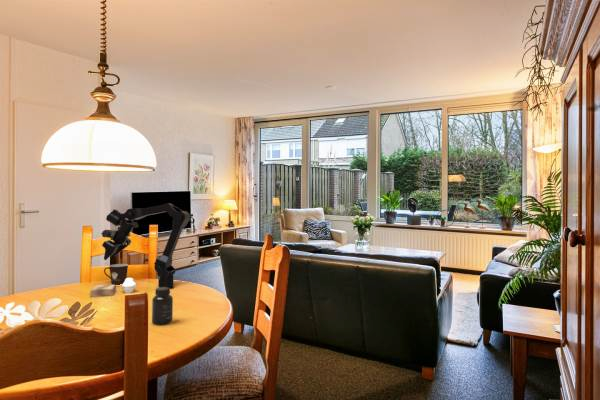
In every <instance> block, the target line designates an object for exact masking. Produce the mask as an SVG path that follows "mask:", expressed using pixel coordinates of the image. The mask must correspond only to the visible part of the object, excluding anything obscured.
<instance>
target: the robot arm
mask: <svg viewBox="0 0 600 400" xmlns="http://www.w3.org/2000/svg"><path fill="white" fill-rule="evenodd" d="M162 213H167V214H168V215H169V216H170V217H171V218H172V219H173V220H172V229H171V231H170V234H169V237H168V240H167V242H166V245H165V247H164V250H163V252H162V254H160V255H158V256H156V258H155V261H154V263H153V265H154V266H153V268H154V270H155V272H156V274H157V277H159V278H158V286H157V288H159V287H169V288H170V289H174V287H175V286H174V275H175V274H176V271H177V269H176V268H175V266H173V265H172V264H173V254H174V252H175V249H176V246H177V244H178V241H179V239H180V237H181V234H182V231H183V230H184V229H185V227H186V226H187V225H188V223H189V222H190V219H191V215H190V213H189V212H188V211H184V210H182V209H181V208H180V207H177V206H175V205H174V204H173V203H165V204H160V205H154V206H150V207H144V208H128V209H126V211H125V212H124V213H121V212H120V211H119V210H117V209H112V211H111V212H109V213H108V214H107V215H106V218H105V220H106V221H108V222H109V223H110V224H112V225H113V226H115V227H118V226H119V227H118V229H117V230H113V229H104V230H102V232H101V235H102V236H101V237H102V238H108V239H109V240H106V241H103V243H102V244H101V246H102V247H103V248H104V256H103V260H104V261H107V260H108V259H109V258H110V257H112V256H114V257H115V256H117V255H118V254H119V253H121V252H122V251H124V249H126V248H128V247H129V246H130V245H131V243H132V240H131V239H130V238H128V237H130V236H131V232H132V231H133V229H134V228H139V224H138V220H141V219H144V218H145V217H147V216H151V215H157V214H162ZM135 220H136V221H135Z"/></svg>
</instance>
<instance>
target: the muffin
mask: <svg viewBox="0 0 600 400" xmlns="http://www.w3.org/2000/svg"><path fill="white" fill-rule="evenodd" d="M136 286H137V282H135V281H134V278H132V277H126V279H125V282H124V283H123V284H122V286H121V287H122V289H123V291H124V293H125V294H131V293H133V292H134V290H135V288H136Z"/></svg>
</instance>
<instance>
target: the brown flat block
mask: <svg viewBox="0 0 600 400" xmlns="http://www.w3.org/2000/svg"><path fill="white" fill-rule="evenodd" d="M116 292H117V286H116V285H111V284H104V285H103V284H102V285H94V286H93V287H92V288H91V290H90V298H101V297H102V298H103V297H113V296H115V293H116Z"/></svg>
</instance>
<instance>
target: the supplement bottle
mask: <svg viewBox="0 0 600 400" xmlns="http://www.w3.org/2000/svg"><path fill="white" fill-rule="evenodd" d="M154 291H155V292H154V293H155V295H154V296H153V298H152V300H151V323H152V325H155V326H166V325H169V324H170V323H172V322H173V319H174V318H173V317H174V315H173V313H174V311H173V309H174V304H173V303H174V299H173V296H172V295H171V288H169V287H156V288H155V290H154Z"/></svg>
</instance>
